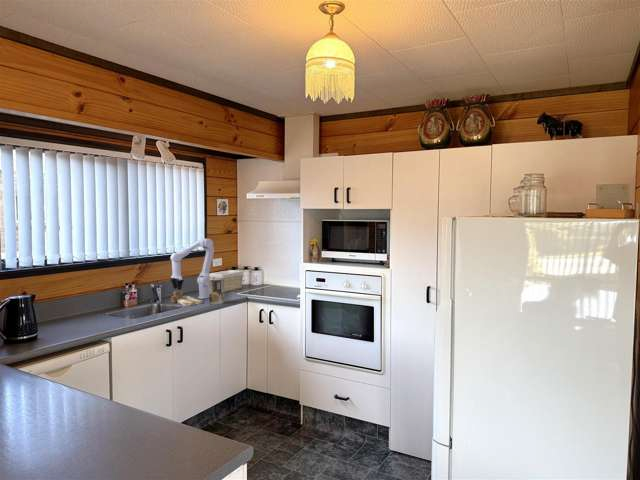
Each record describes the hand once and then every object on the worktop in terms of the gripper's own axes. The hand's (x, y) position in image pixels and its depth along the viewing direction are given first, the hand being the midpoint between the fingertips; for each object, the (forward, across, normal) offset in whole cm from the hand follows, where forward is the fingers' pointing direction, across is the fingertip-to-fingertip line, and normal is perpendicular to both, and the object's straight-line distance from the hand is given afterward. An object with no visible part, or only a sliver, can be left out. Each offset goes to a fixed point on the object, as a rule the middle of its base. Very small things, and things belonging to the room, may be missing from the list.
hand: (177, 289), depth 319 cm
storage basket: (+10, -17, +48) cm, 52 cm away
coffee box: (+10, +25, +18) cm, 32 cm away
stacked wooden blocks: (+9, -1, +1) cm, 9 cm away
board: (+9, +6, +4) cm, 12 cm away
